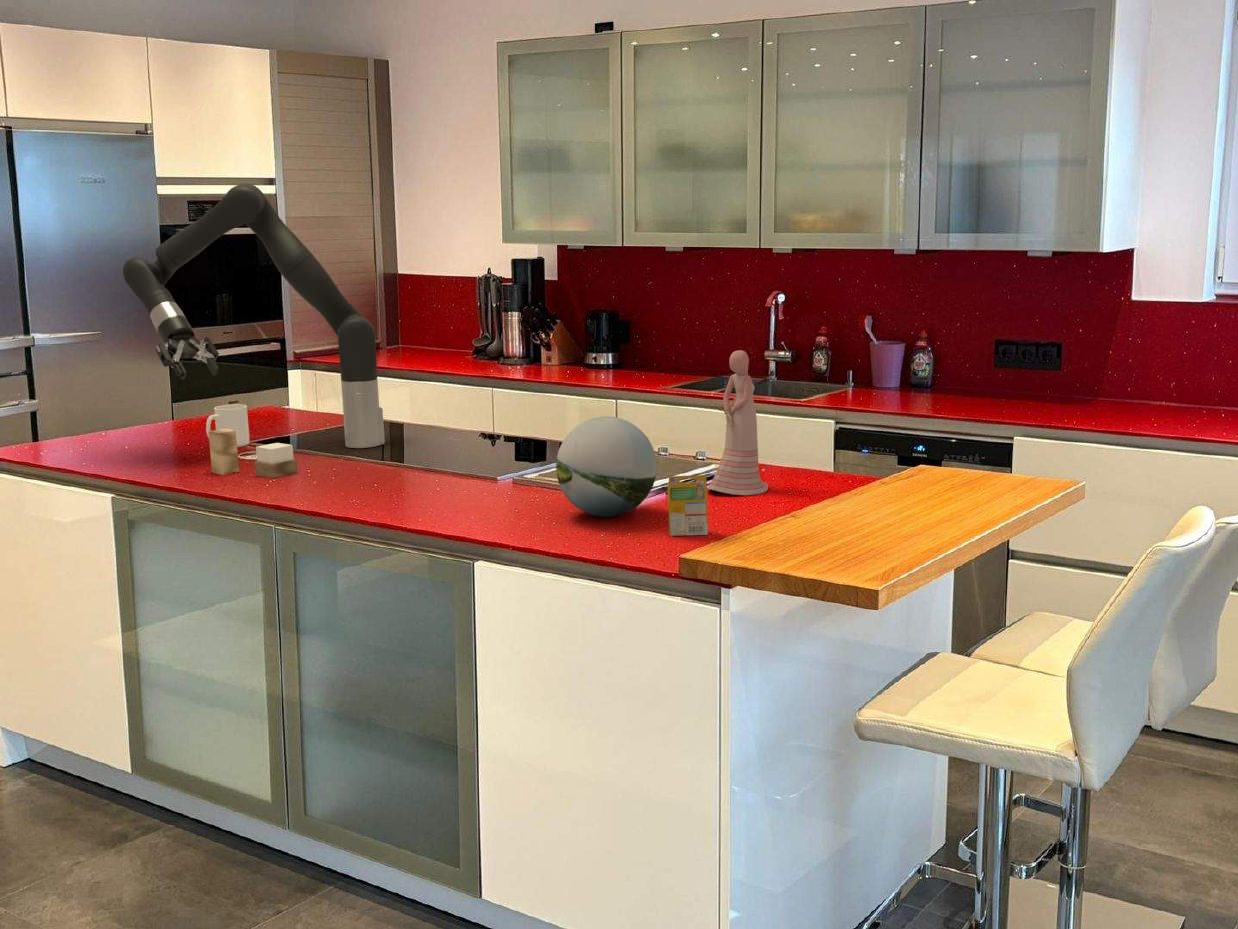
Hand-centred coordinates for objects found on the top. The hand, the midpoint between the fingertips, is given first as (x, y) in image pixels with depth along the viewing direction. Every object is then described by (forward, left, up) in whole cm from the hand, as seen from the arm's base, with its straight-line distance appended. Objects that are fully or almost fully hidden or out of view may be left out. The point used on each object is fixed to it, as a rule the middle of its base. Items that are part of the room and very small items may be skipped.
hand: (200, 374), depth 327 cm
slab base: (-8, +22, -23) cm, 33 cm away
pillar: (0, +11, -22) cm, 25 cm away
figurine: (-73, +111, -23) cm, 135 cm away
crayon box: (-41, +131, -23) cm, 139 cm away
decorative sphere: (-39, +109, -23) cm, 118 cm away
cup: (-14, -21, -23) cm, 34 cm away
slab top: (-8, +22, -19) cm, 30 cm away
